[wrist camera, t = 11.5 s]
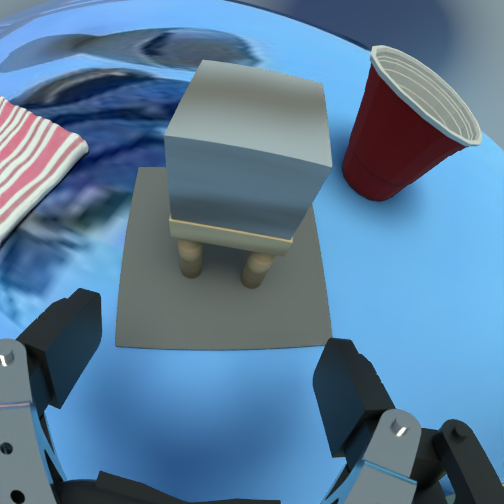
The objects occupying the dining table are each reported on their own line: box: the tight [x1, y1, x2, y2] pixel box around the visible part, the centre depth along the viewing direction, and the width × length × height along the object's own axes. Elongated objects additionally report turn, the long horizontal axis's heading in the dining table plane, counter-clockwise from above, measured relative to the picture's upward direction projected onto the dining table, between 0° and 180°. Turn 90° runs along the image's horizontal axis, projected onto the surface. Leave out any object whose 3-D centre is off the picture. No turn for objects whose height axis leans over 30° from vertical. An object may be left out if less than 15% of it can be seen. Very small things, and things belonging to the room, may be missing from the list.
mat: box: [115, 167, 332, 350], centre depth 21 cm, size 14×14×1 cm
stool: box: [164, 60, 332, 289], centre depth 15 cm, size 6×6×12 cm
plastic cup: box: [342, 45, 483, 201], centre depth 22 cm, size 11×11×12 cm
